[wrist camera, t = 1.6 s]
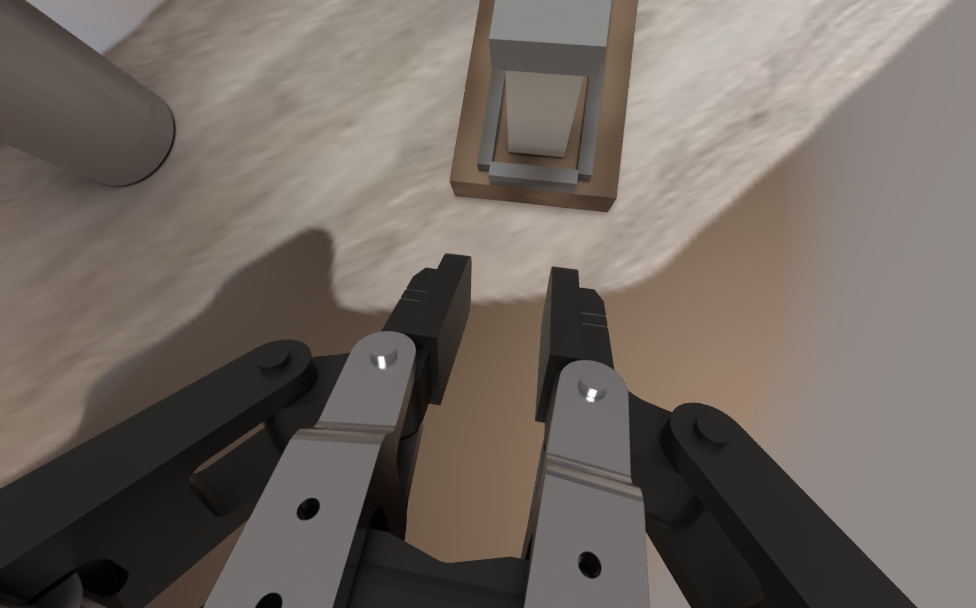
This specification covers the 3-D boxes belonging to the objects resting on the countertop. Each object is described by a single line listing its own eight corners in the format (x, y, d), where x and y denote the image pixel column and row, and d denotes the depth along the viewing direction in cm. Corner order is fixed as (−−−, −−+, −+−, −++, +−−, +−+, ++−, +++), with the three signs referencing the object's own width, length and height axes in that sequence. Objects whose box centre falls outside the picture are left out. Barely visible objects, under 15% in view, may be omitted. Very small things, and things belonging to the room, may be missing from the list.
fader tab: (499, 157, 27) (488, 38, 17) (506, 106, 27) (501, -38, 17) (571, 164, 26) (606, 46, 16) (578, 112, 27) (615, -33, 17)
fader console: (455, 195, 29) (445, 170, 25) (497, -62, 32) (495, -120, 28) (607, 211, 28) (622, 188, 24) (637, -57, 31) (654, -116, 27)
